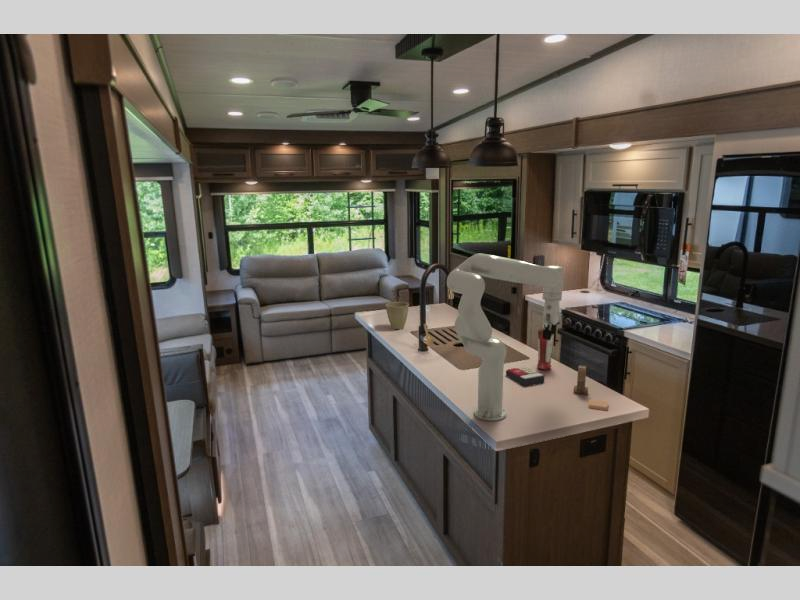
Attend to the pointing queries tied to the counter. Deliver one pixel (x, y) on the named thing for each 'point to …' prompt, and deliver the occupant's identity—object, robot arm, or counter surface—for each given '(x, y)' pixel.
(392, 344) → the counter surface
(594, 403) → the tile
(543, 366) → the liquor
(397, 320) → the plant pot
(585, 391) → the tan stepped block
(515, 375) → the calculator
